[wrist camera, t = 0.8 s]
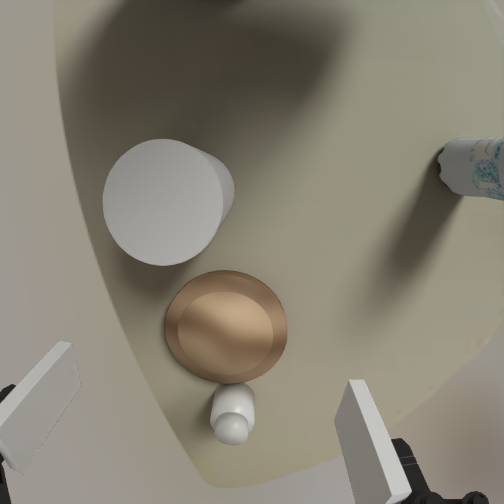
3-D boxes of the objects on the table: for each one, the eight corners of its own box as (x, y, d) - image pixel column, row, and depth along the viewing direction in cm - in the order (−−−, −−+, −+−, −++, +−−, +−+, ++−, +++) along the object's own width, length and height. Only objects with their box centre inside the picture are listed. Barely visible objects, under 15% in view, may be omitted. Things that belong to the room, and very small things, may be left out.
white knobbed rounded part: (216, 378, 36) (209, 416, 29) (256, 383, 36) (257, 422, 29) (213, 407, 37) (206, 445, 30) (251, 412, 37) (250, 450, 31)
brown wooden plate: (172, 262, 33) (166, 268, 30) (295, 279, 33) (298, 286, 31) (167, 364, 36) (163, 374, 33) (274, 379, 36) (275, 390, 34)
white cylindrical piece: (158, 234, 32) (110, 267, 20) (152, 156, 30) (98, 148, 18) (236, 229, 32) (227, 262, 20) (232, 148, 30) (219, 132, 18)
